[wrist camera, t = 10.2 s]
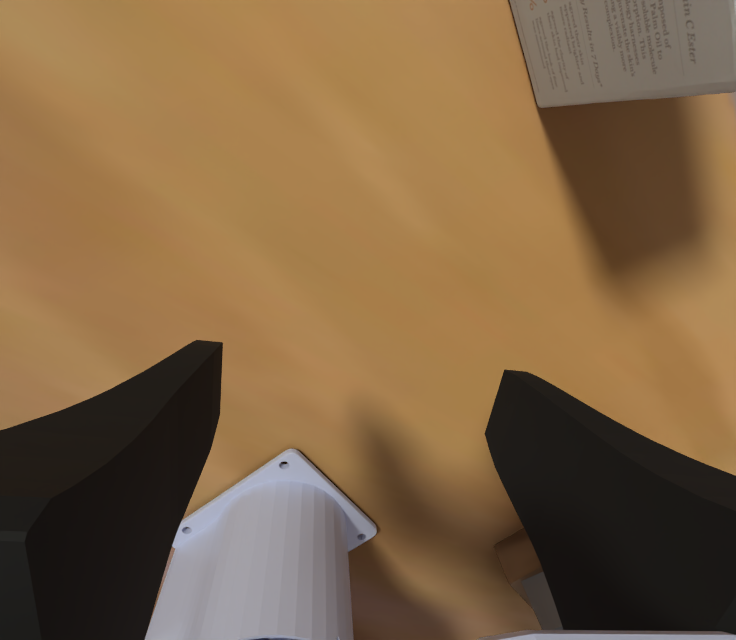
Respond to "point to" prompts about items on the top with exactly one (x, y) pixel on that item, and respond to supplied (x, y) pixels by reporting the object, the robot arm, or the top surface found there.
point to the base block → (518, 560)
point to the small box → (626, 49)
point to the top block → (542, 602)
